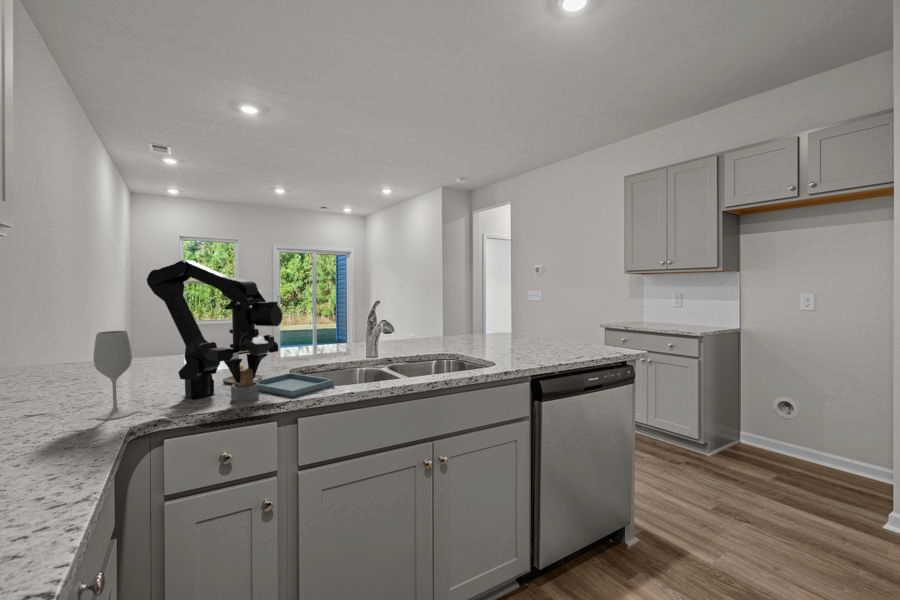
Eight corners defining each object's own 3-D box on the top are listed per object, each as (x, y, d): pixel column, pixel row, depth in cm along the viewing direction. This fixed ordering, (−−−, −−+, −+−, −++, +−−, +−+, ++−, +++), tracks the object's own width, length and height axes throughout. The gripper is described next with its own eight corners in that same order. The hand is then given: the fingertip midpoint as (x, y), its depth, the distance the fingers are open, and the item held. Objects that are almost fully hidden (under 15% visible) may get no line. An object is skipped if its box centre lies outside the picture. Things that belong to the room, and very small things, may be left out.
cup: (242, 405, 120) (241, 388, 119) (227, 401, 123) (226, 385, 123) (264, 399, 125) (263, 383, 125) (248, 395, 129) (248, 380, 129)
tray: (292, 399, 125) (292, 391, 125) (247, 390, 135) (247, 382, 135) (333, 387, 138) (333, 379, 138) (290, 380, 149) (290, 372, 148)
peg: (243, 400, 121) (242, 372, 121) (234, 398, 123) (233, 370, 123) (256, 397, 125) (255, 369, 124) (247, 395, 127) (246, 368, 126)
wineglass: (128, 409, 116) (125, 329, 115) (138, 414, 111) (135, 331, 110) (92, 416, 110) (88, 332, 109) (100, 422, 105) (97, 335, 104)
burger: (252, 387, 139) (251, 364, 139) (215, 387, 140) (214, 364, 139) (268, 379, 151) (268, 357, 151) (234, 379, 152) (234, 357, 151)
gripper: (230, 330, 111) (231, 392, 112) (290, 324, 127) (291, 377, 128) (204, 328, 117) (206, 386, 117) (265, 322, 133) (266, 373, 133)
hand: (245, 380), depth 124 cm, fingers closed on peg, 4 cm apart
